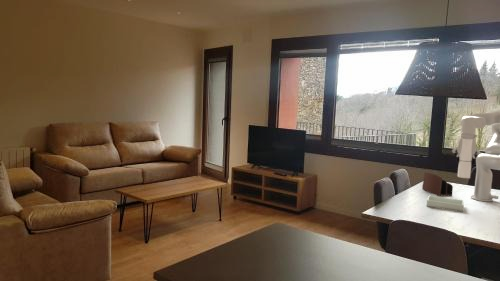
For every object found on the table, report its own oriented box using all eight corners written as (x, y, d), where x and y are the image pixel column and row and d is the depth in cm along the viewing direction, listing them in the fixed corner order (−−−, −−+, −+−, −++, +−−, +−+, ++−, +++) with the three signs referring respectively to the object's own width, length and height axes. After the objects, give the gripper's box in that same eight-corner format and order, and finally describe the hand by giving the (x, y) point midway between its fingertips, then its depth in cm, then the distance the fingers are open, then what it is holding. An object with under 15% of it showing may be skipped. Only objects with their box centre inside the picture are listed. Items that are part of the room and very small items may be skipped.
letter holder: (439, 196, 262) (441, 176, 260) (422, 189, 281) (423, 171, 279) (452, 196, 263) (454, 176, 262) (434, 189, 283) (435, 171, 281)
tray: (462, 206, 238) (463, 200, 238) (463, 211, 226) (463, 205, 225) (427, 201, 247) (428, 195, 247) (426, 206, 235) (427, 200, 235)
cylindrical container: (469, 176, 245) (473, 138, 242) (470, 178, 238) (474, 139, 235) (456, 175, 248) (460, 137, 245) (457, 177, 241) (461, 138, 238)
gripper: (483, 136, 239) (480, 164, 241) (452, 134, 247) (449, 161, 249) (484, 137, 232) (481, 166, 234) (452, 135, 240) (449, 163, 243)
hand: (465, 163), depth 242 cm, fingers closed on cylindrical container, 7 cm apart
